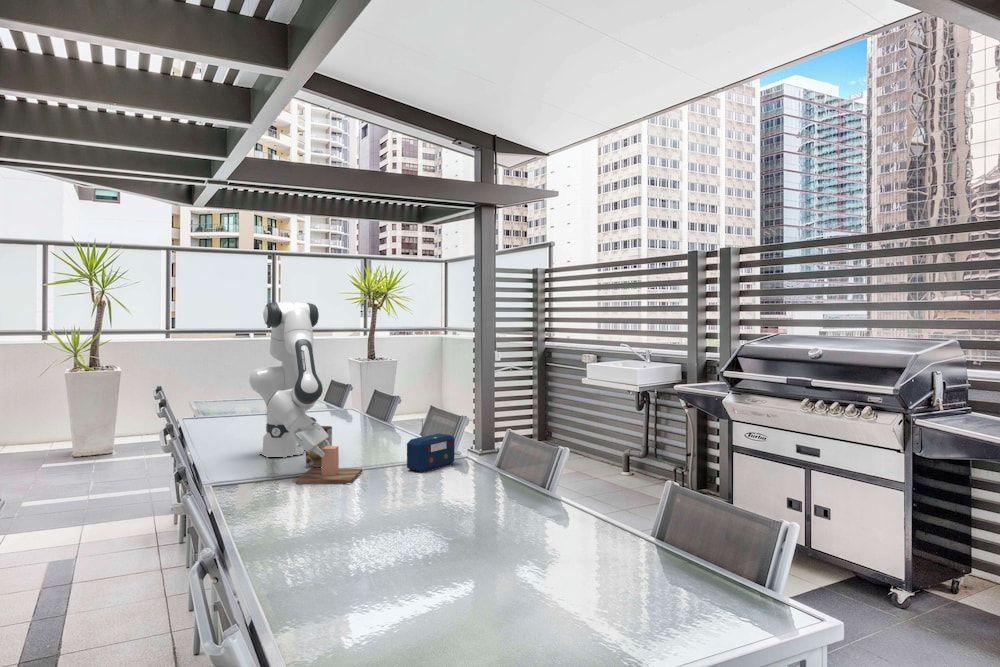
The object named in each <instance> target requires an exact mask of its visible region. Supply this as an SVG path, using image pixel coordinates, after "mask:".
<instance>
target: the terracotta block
mask: <svg viewBox="0 0 1000 667" xmlns="http://www.w3.org/2000/svg"><path fill="white" fill-rule="evenodd" d="M321 450H322V451H324V452H325V453H326V455H325V456H324V457H322V475H331V476H335V475H336V474H337V473H338V472H339V468H340V467H339V460H340V458H339V445H332V446H325V447H323V448H322V449H321Z"/></svg>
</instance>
